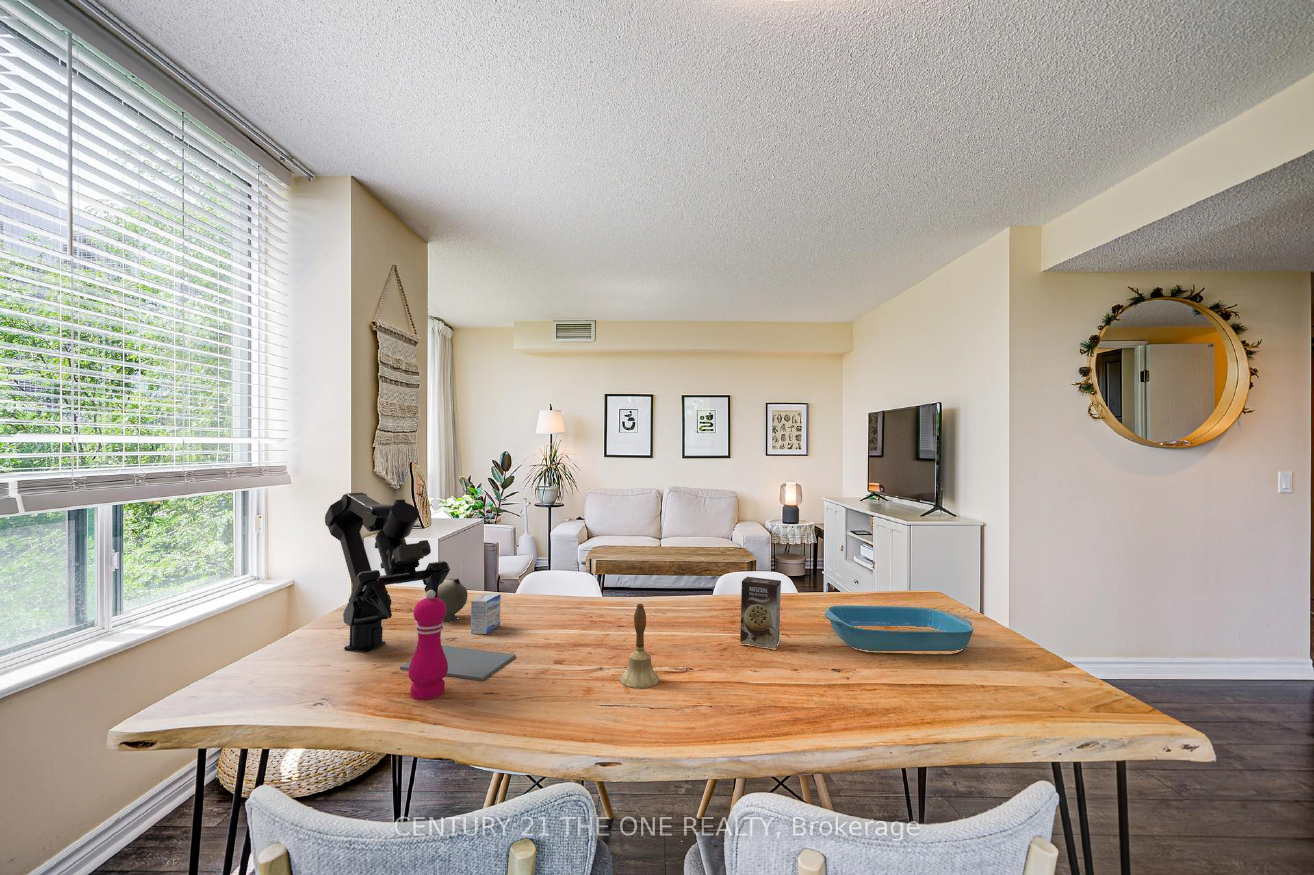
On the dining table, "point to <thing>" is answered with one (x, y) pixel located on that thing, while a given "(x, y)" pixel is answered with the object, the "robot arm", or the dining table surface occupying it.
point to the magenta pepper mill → (428, 649)
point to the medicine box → (485, 613)
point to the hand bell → (639, 658)
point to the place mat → (471, 662)
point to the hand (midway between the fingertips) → (413, 612)
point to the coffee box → (760, 612)
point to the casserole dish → (883, 640)
